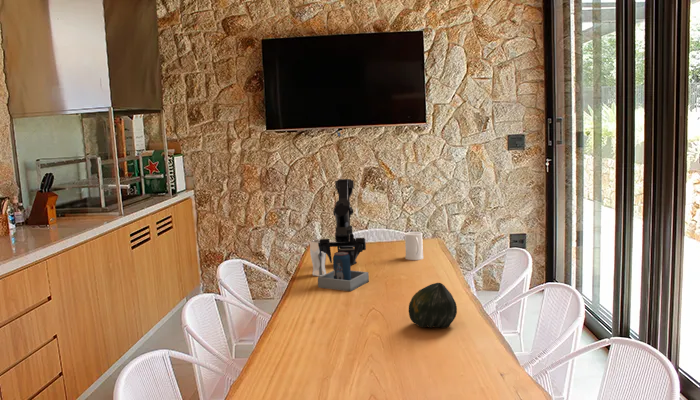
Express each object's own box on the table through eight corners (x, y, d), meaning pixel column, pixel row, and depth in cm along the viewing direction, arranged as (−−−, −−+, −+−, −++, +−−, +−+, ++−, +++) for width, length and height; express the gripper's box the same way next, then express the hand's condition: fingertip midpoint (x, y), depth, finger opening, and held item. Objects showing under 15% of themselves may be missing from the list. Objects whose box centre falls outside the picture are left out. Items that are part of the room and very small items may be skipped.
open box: (318, 287, 247) (317, 277, 247) (337, 278, 260) (336, 269, 259) (350, 291, 240) (350, 281, 239) (368, 281, 253) (368, 272, 252)
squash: (398, 303, 204) (412, 277, 193) (438, 299, 209) (454, 273, 198) (412, 341, 195) (428, 316, 184) (454, 336, 200) (471, 311, 189)
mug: (426, 261, 284) (425, 235, 282) (407, 262, 283) (407, 236, 282) (421, 255, 295) (421, 231, 294) (404, 256, 295) (403, 231, 293)
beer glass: (328, 272, 270) (326, 238, 268) (326, 276, 263) (324, 242, 261) (312, 272, 271) (311, 239, 269) (310, 276, 264) (308, 242, 262)
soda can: (348, 279, 254) (347, 250, 252) (353, 283, 247) (351, 253, 246) (332, 280, 252) (330, 252, 251) (336, 285, 246) (335, 255, 244)
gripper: (318, 219, 251) (317, 252, 241) (364, 218, 250) (364, 250, 240) (321, 234, 259) (320, 266, 250) (365, 233, 259) (366, 265, 249)
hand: (342, 262), depth 247 cm, fingers open, 9 cm apart
